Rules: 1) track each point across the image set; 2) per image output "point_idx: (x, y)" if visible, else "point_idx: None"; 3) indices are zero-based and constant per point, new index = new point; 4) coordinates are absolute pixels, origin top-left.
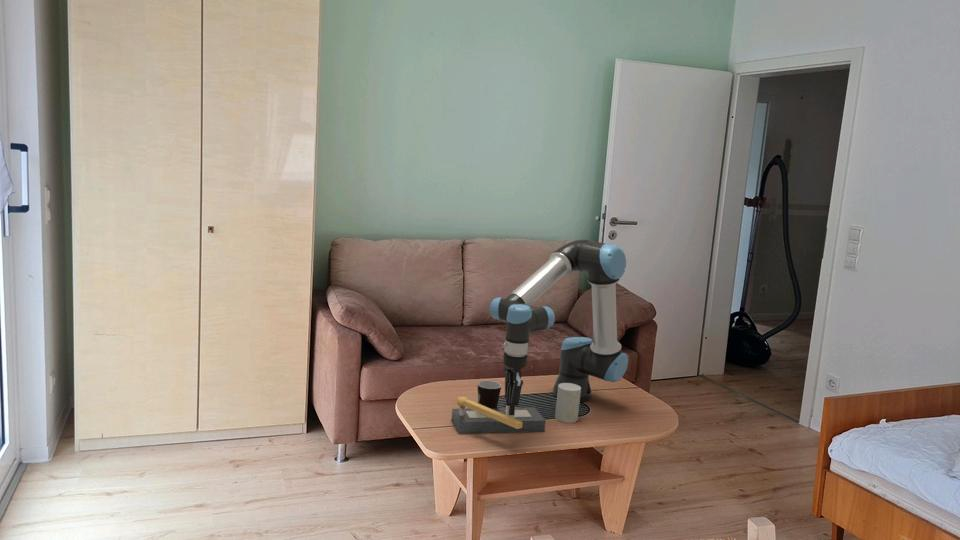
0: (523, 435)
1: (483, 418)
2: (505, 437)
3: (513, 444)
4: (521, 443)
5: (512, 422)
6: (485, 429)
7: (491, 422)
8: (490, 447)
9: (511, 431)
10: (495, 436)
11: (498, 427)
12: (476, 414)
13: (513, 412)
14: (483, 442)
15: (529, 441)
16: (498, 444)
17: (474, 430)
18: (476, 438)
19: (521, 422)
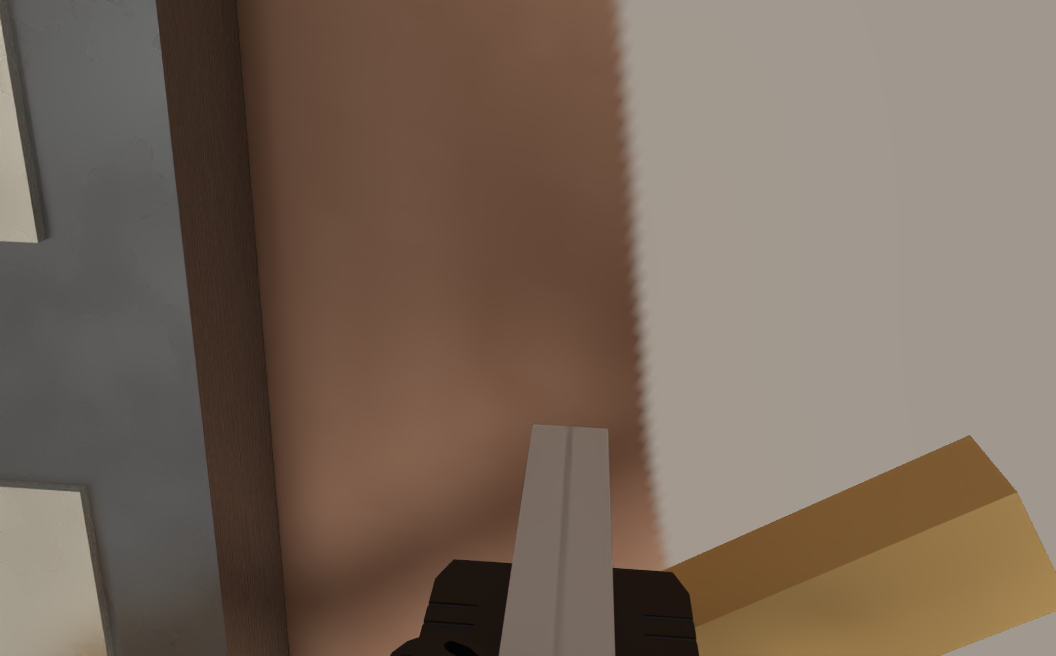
0: (349, 57)
1: (112, 598)
2: (405, 322)
3: (621, 292)
4: (604, 178)
5: (914, 645)
6: (260, 536)
7: (219, 527)
8: (663, 569)
9: (245, 199)
10: (371, 429)
11: (239, 397)
12: (5, 653)
13: (694, 635)
14: None
15: (554, 39)
16: None
17: (274, 642)
18: (417, 634)
19: (1027, 521)
